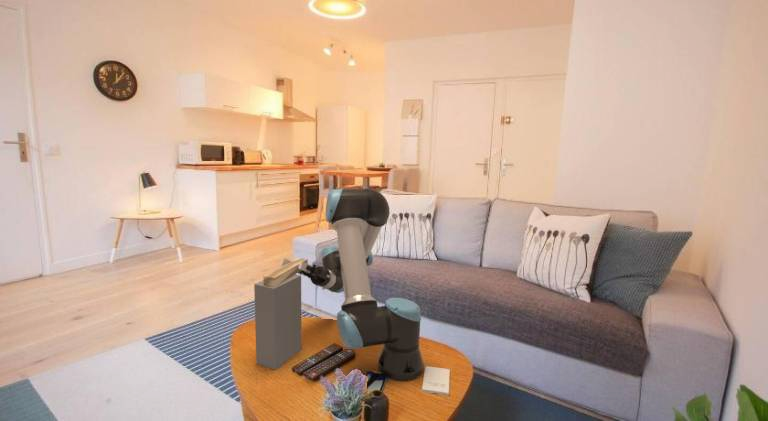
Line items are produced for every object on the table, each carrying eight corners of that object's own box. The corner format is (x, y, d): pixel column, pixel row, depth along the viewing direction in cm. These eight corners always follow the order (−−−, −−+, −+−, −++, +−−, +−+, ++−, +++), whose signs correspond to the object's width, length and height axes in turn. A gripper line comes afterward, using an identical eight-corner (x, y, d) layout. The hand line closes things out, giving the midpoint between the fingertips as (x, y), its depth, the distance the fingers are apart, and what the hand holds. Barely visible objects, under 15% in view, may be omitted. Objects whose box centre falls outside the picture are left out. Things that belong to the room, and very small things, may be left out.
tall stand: (301, 349, 134) (301, 275, 130) (275, 370, 122) (273, 288, 117) (283, 344, 138) (282, 271, 133) (256, 363, 125) (254, 284, 120)
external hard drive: (449, 373, 124) (448, 397, 112) (424, 370, 125) (421, 393, 113) (449, 369, 124) (449, 392, 111) (425, 365, 125) (421, 388, 113)
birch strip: (307, 266, 139) (307, 259, 139) (274, 286, 119) (274, 277, 118) (298, 265, 141) (297, 257, 140) (263, 285, 120) (263, 276, 119)
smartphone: (351, 400, 108) (367, 370, 122) (351, 403, 108) (367, 372, 122) (376, 405, 106) (389, 374, 120) (376, 408, 106) (388, 376, 121)
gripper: (341, 291, 145) (311, 278, 125) (299, 282, 153) (265, 268, 133) (347, 272, 147) (318, 256, 128) (305, 264, 155) (272, 248, 136)
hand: (291, 263), depth 131 cm, fingers open, 7 cm apart
